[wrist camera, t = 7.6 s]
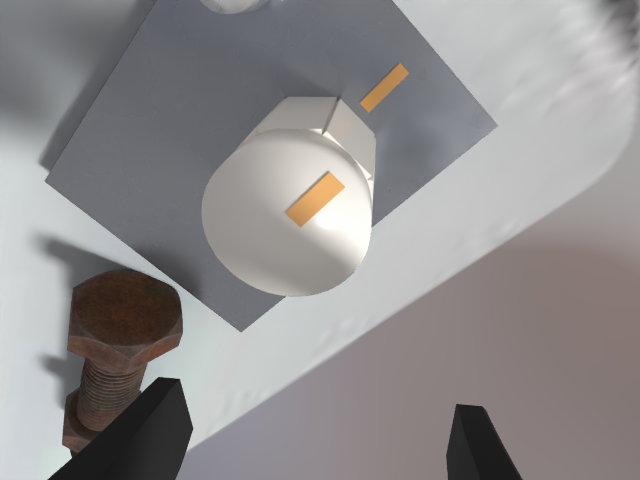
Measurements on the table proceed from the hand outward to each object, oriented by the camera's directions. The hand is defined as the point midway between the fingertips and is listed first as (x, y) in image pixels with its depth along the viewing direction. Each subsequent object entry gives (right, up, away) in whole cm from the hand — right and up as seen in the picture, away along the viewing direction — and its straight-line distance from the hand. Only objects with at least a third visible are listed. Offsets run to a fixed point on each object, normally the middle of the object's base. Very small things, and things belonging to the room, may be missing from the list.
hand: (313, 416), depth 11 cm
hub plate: (-3, +9, +8) cm, 12 cm away
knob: (0, +8, +6) cm, 10 cm away
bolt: (-12, -3, +16) cm, 21 cm away
